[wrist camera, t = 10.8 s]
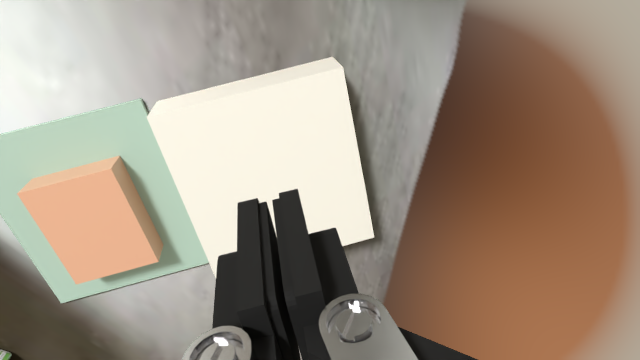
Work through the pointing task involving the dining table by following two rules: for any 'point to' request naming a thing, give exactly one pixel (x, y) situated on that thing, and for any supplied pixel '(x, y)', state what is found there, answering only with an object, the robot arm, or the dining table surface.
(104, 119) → the mat
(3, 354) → the syrup box
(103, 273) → the tile
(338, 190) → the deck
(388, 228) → the dining table surface
